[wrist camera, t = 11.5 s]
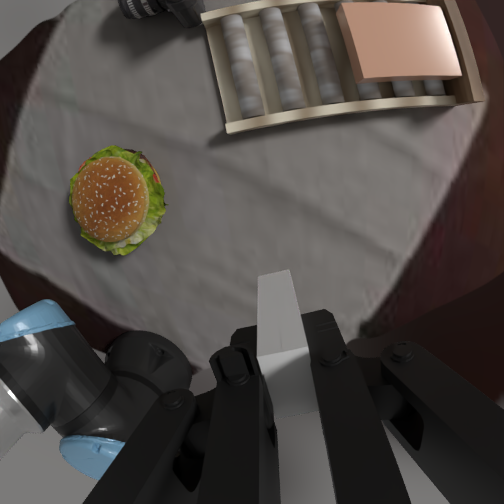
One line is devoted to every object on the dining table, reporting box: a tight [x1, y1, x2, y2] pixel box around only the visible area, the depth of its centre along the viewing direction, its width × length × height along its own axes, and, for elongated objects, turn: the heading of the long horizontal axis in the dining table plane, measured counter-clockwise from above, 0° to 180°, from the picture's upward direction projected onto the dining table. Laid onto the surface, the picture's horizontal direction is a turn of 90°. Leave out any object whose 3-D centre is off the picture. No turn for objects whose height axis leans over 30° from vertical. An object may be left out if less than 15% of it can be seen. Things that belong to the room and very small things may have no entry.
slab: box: [336, 2, 462, 84], centre depth 30 cm, size 14×10×4 cm
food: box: [69, 145, 168, 255], centre depth 39 cm, size 14×14×8 cm
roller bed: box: [200, 0, 485, 135], centre depth 32 cm, size 33×17×8 cm, turn 102°
